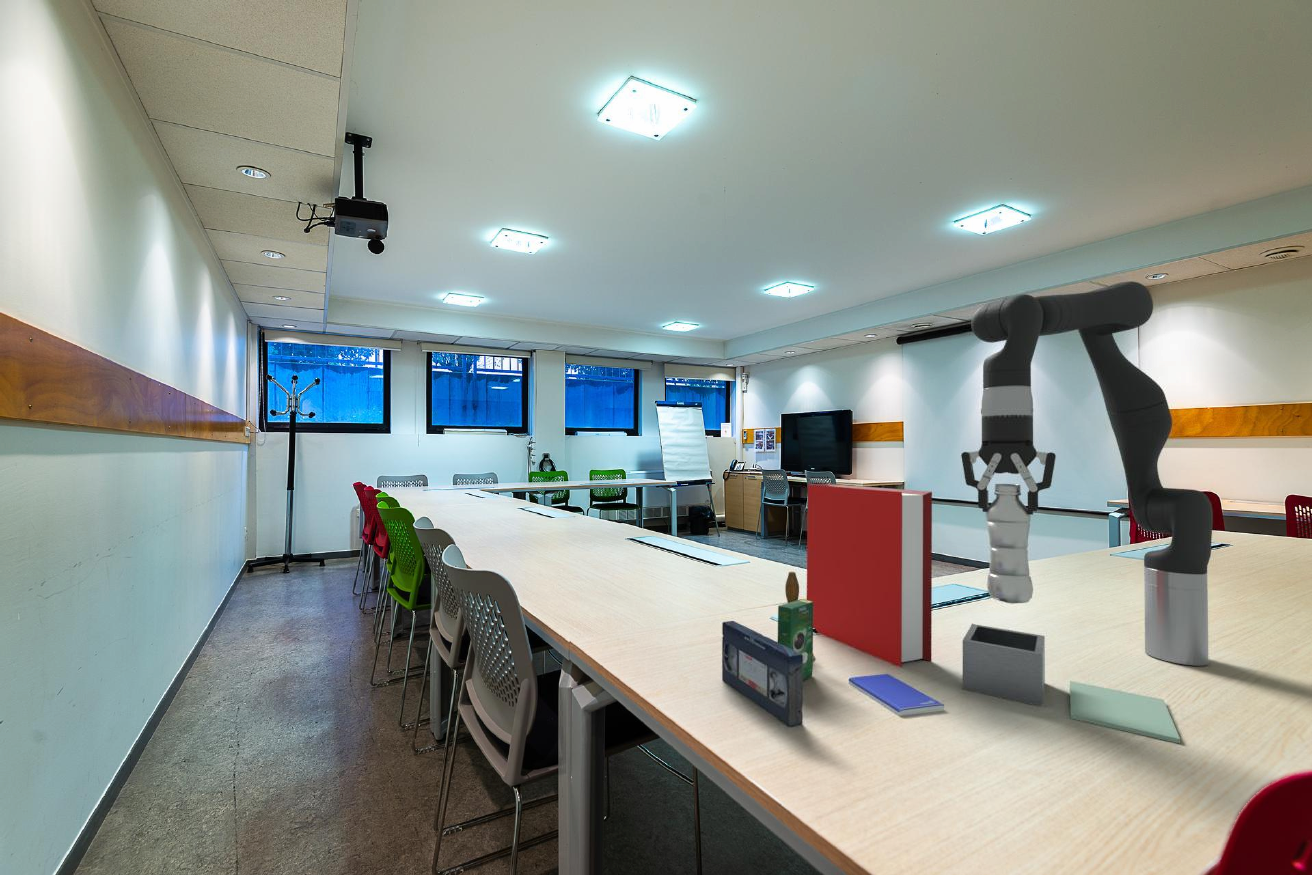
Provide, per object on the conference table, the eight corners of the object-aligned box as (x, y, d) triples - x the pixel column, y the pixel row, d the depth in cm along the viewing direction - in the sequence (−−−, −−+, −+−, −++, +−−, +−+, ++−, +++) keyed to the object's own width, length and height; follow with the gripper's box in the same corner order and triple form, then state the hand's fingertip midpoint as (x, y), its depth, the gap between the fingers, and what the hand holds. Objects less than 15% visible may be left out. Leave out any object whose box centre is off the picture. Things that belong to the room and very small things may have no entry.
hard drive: (944, 703, 86) (889, 672, 98) (899, 708, 84) (848, 677, 96) (944, 713, 86) (889, 682, 98) (899, 719, 84) (848, 686, 96)
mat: (1069, 684, 97) (1069, 680, 97) (1163, 703, 90) (1163, 699, 90) (1070, 718, 84) (1070, 714, 84) (1180, 743, 77) (1180, 738, 77)
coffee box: (799, 671, 100) (799, 597, 101) (814, 676, 98) (814, 600, 99) (775, 684, 95) (776, 605, 95) (790, 689, 93) (791, 608, 93)
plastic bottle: (1040, 608, 92) (1038, 485, 93) (995, 606, 94) (993, 484, 94) (1023, 598, 98) (1021, 483, 99) (981, 596, 100) (979, 483, 100)
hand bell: (798, 667, 102) (799, 578, 103) (761, 654, 109) (762, 571, 109) (823, 657, 108) (824, 573, 108) (787, 645, 114) (788, 566, 115)
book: (931, 661, 107) (931, 491, 108) (900, 667, 103) (901, 492, 104) (829, 622, 131) (830, 484, 133) (802, 625, 128) (803, 484, 129)
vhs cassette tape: (720, 680, 96) (721, 621, 96) (735, 678, 97) (736, 619, 98) (786, 729, 79) (787, 657, 79) (803, 725, 80) (804, 654, 81)
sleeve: (972, 667, 104) (972, 623, 104) (1044, 682, 97) (1044, 635, 98) (962, 688, 94) (962, 640, 94) (1042, 707, 88) (1042, 654, 88)
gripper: (1058, 414, 96) (1059, 514, 95) (962, 417, 104) (963, 508, 104) (1057, 411, 90) (1058, 518, 89) (956, 414, 98) (956, 511, 98)
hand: (1007, 512), depth 97 cm, fingers closed on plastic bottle, 6 cm apart
